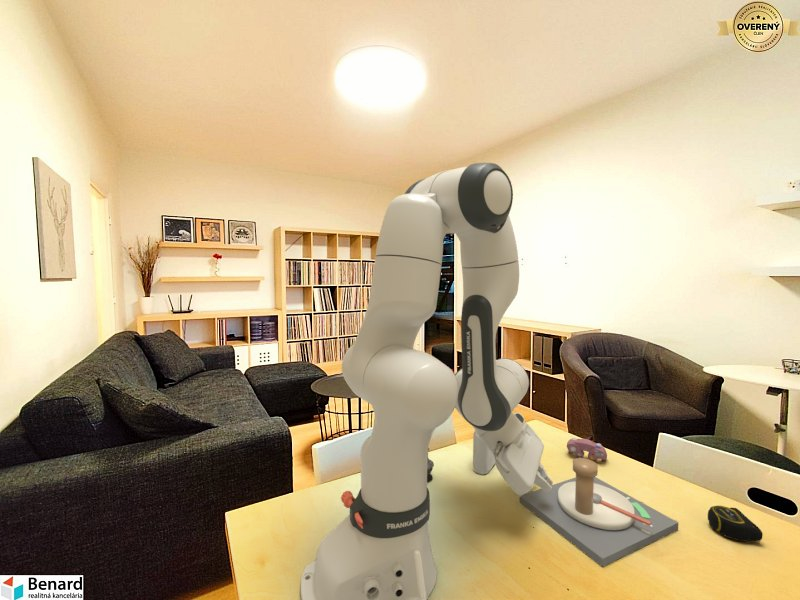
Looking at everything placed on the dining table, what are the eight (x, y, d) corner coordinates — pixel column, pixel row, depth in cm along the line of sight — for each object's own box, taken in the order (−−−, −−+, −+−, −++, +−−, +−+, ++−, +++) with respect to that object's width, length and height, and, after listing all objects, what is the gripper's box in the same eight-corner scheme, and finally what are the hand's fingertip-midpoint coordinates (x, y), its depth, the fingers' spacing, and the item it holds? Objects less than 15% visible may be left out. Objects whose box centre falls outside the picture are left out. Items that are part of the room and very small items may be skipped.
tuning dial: (545, 504, 77) (546, 453, 76) (576, 480, 86) (577, 434, 85) (636, 551, 64) (638, 490, 63) (661, 516, 73) (663, 463, 72)
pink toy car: (566, 459, 102) (564, 442, 99) (569, 447, 106) (567, 430, 103) (606, 470, 97) (605, 452, 94) (608, 456, 100) (607, 438, 97)
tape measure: (764, 548, 67) (765, 529, 67) (720, 542, 68) (721, 523, 68) (739, 523, 73) (740, 506, 73) (699, 518, 75) (700, 501, 75)
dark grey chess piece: (432, 485, 87) (432, 436, 87) (408, 482, 89) (408, 434, 88) (435, 472, 93) (435, 427, 92) (412, 470, 94) (412, 425, 94)
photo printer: (483, 455, 102) (484, 412, 101) (499, 459, 100) (499, 415, 99) (470, 472, 93) (471, 425, 92) (487, 477, 91) (487, 428, 90)
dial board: (602, 567, 62) (602, 557, 62) (519, 502, 81) (519, 494, 81) (678, 529, 72) (678, 521, 71) (588, 479, 90) (588, 472, 90)
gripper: (502, 445, 69) (557, 509, 65) (521, 410, 87) (565, 458, 84) (479, 463, 72) (531, 525, 68) (502, 424, 90) (544, 472, 86)
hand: (550, 488), depth 76 cm, fingers closed
